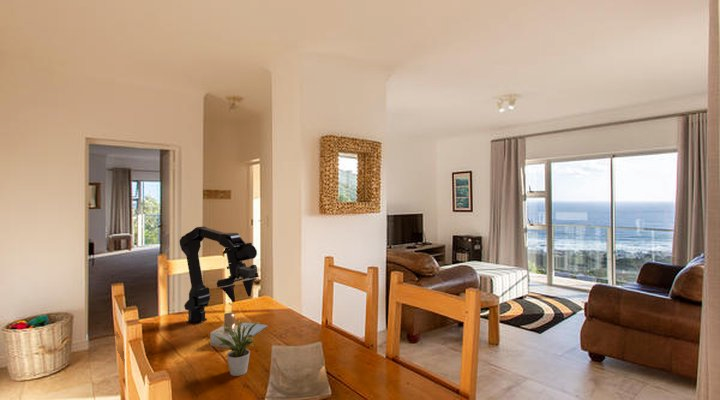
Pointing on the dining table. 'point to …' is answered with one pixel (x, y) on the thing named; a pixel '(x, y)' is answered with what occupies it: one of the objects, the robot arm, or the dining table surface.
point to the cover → (226, 331)
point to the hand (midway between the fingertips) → (241, 299)
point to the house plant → (238, 350)
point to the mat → (254, 328)
